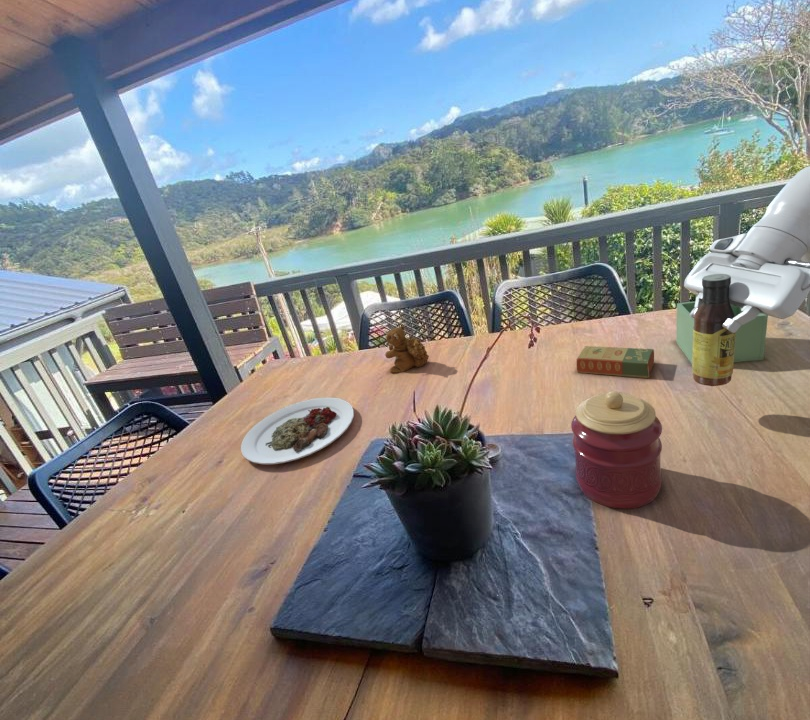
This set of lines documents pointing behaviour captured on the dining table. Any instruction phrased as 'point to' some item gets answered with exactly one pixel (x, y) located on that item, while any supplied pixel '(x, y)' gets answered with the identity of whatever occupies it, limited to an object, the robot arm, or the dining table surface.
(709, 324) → the sauce bottle
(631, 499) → the kitchen canister
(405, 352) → the stuffed squirrel
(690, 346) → the bin
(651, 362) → the carton
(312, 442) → the plated food
